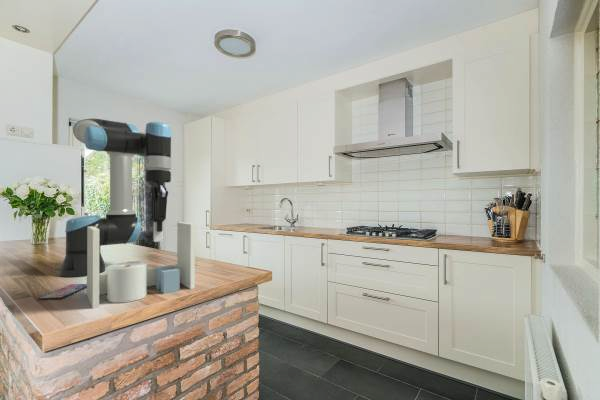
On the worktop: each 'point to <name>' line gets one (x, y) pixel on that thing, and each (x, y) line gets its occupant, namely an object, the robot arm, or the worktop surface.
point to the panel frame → (184, 264)
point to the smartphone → (64, 292)
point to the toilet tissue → (126, 281)
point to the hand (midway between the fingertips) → (158, 241)
